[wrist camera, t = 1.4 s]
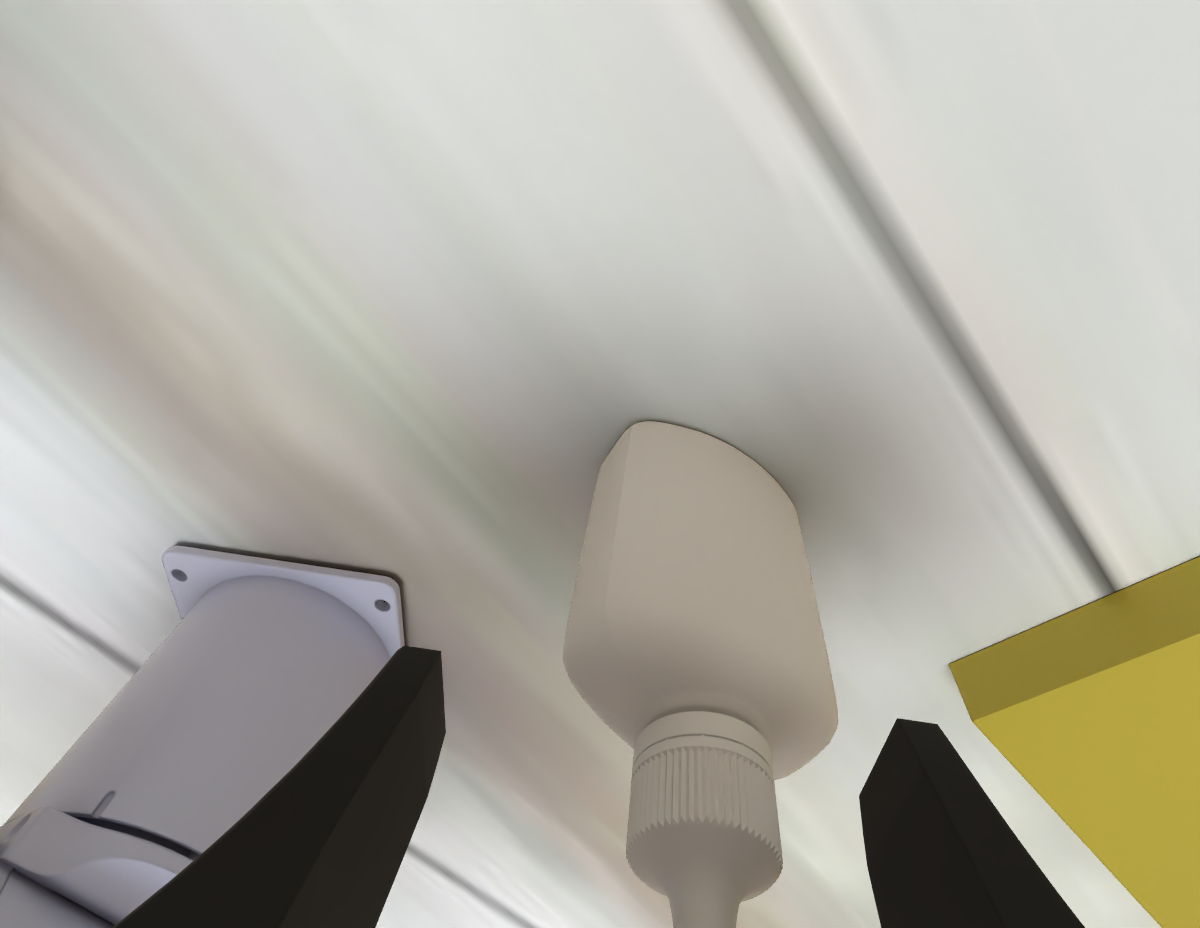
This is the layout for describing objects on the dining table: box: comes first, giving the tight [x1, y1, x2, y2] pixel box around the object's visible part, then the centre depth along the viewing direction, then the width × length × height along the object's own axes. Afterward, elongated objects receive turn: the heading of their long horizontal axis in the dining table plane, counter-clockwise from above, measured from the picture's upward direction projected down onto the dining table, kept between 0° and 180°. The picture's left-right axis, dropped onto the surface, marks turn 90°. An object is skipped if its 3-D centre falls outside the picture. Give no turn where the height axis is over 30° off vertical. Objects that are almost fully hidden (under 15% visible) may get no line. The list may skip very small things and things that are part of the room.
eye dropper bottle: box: [563, 421, 838, 928], centre depth 15 cm, size 4×6×12 cm
